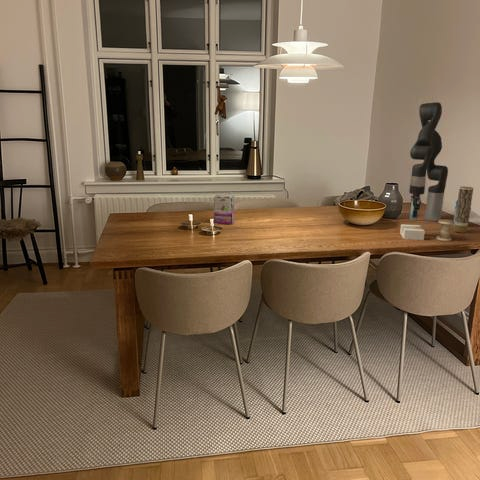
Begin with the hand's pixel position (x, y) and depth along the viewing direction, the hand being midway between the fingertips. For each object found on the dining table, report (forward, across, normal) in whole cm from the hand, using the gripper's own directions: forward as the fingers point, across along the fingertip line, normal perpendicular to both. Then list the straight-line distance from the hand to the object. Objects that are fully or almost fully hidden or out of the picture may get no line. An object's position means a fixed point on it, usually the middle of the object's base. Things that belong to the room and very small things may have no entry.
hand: (413, 216), depth 252 cm
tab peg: (+2, 0, 0) cm, 2 cm away
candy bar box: (+12, -10, -105) cm, 106 cm away
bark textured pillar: (+11, -15, +29) cm, 35 cm away
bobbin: (+11, +2, +16) cm, 20 cm away
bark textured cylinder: (+11, -29, +33) cm, 45 cm away
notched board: (+11, 0, 0) cm, 11 cm away
